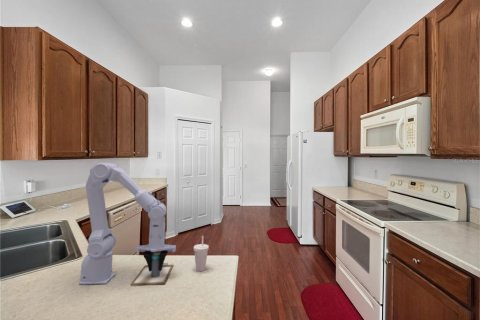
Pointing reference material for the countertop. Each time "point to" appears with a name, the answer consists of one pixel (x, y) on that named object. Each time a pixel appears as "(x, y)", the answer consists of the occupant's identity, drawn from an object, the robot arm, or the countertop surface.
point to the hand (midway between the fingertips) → (155, 270)
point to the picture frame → (146, 278)
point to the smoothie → (200, 256)
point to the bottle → (155, 265)
